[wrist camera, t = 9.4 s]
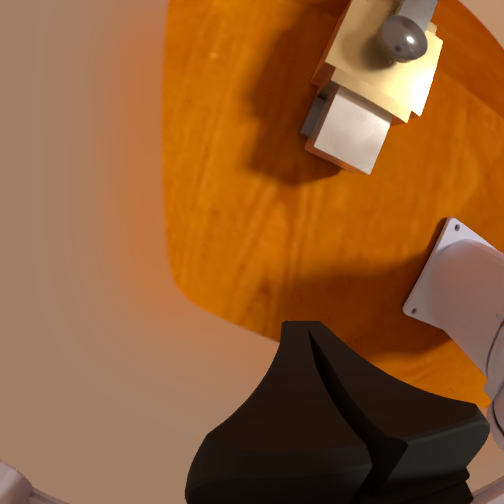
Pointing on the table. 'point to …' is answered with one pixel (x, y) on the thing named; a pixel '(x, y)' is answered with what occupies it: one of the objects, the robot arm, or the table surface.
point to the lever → (406, 31)
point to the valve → (364, 88)
